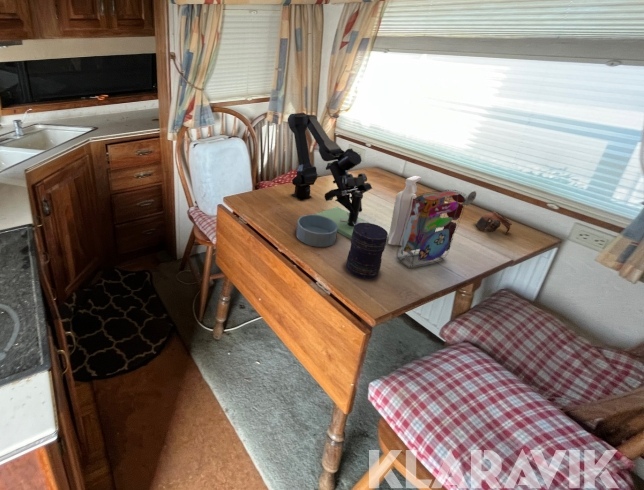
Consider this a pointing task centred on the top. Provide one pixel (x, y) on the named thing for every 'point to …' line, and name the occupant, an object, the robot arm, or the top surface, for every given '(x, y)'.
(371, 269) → the storage jar
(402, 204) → the white pump bottle
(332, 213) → the cutting board
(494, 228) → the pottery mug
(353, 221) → the black post stand
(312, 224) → the bowl
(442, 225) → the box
